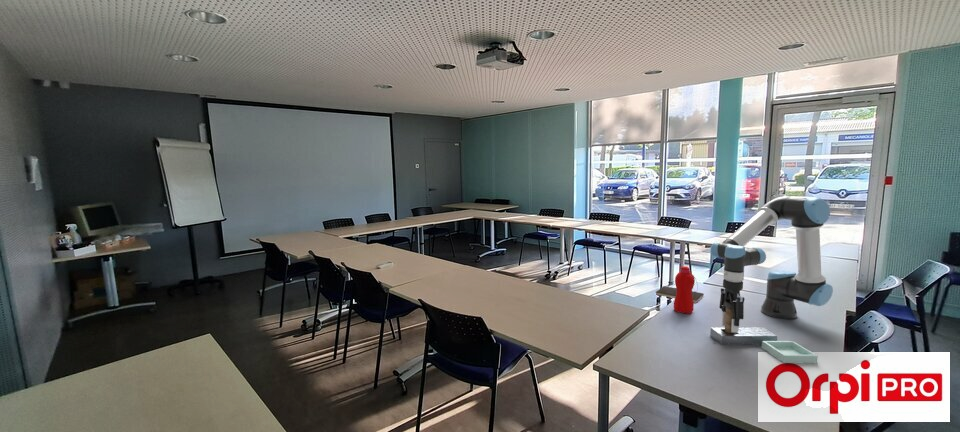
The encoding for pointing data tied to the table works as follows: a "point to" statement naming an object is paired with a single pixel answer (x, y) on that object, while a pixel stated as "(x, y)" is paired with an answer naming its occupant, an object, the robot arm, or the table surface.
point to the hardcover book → (673, 291)
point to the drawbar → (743, 336)
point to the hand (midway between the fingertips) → (729, 328)
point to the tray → (789, 352)
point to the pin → (728, 318)
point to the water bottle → (684, 291)
